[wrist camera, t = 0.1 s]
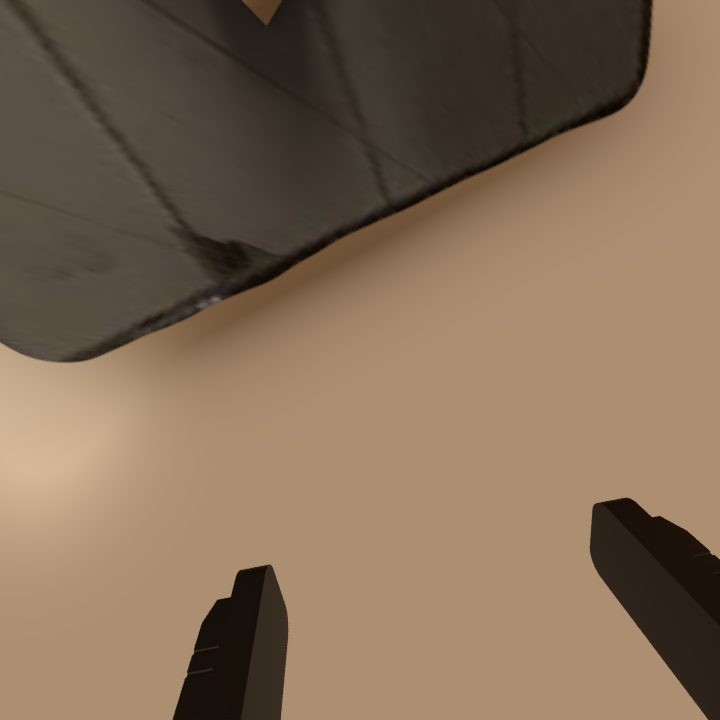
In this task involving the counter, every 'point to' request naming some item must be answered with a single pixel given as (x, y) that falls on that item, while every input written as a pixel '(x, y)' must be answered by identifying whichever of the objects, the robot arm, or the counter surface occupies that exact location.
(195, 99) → the counter surface
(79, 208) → the counter surface
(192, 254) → the counter surface
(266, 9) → the pipe rig
